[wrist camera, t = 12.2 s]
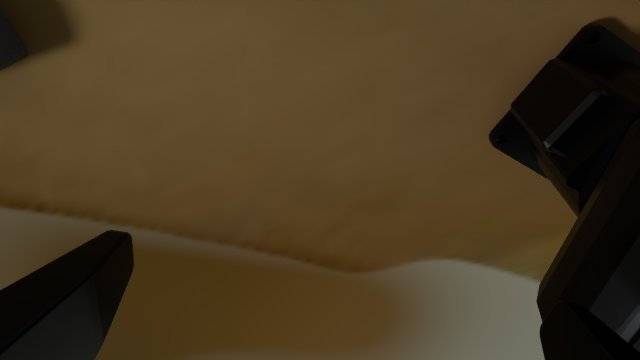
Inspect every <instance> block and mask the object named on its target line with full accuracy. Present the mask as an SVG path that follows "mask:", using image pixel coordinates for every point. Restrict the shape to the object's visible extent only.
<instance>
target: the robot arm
mask: <svg viewBox="0 0 640 360" xmlns="http://www.w3.org/2000/svg"><path fill="white" fill-rule="evenodd" d="M592 32H596V36H595V38H594V39H593V40H592V41H589V42H588V36H589V35H590V34H591V33H592ZM500 135H505V137H504V138H503V139H502V140H499V141H498V140H496V139H497V137H498V136H500ZM489 140H490V142H491V144H492V145H493V146H494V147H495V148H496V149H498V150H500V151H501V152H503V153H505V154H506V155H508V156H510V157H512V158H513V159H515V160H517V161H518V162H520V163H522V164H523V165H525V166H527V167H528V168H530V169H532V170H533V171H535V172H537V173H538V174H540V175H542V176H543V177H545V178H547V179H548V180H550V181H551V182H552V184H553V185H554V186H555V188H556V189H557V190H558V192H559V193H560V194H561V196H562V197H563V198H564V200H565V201H566V202H567V204H568V205H569V206H570V208H571V209H572V210H573V212H574V213H575V214H576V216H577V217H578V218H577V220H576V222H575V224H574V225H573V227H572V229H571V231H570V232H569V234H568V236H567V238H566V239H565V241H564V243H563V245H562V246H561V248H560V250H559V252H558V253H557V255H556V257H555V259H554V260H553V262H552V264H551V266H550V267H549V269H548V271H547V273H546V274H545V276H544V278H543V280H542V281H541V283H540V285H539V291H538V296H537V305H538V308H539V312H540V315H541V319H542V322H543V323H542V324H541V327H540V339H541V343H542V348H543V353H544V357H545V360H640V53H639V52H638V51H636V50H635V49H634V48H632V47H631V46H629V45H628V44H627V43H625V42H624V41H622V40H621V39H620V38H618V37H617V36H616V35H614V34H613V33H611V32H610V31H609V30H607V29H606V28H605V27H603V26H600V25H598V24H595V23H592V24H588V25H586V26H584V27H583V28H582V29H581V30H580V31H579V32H578V33H577V34H576V35H575V37H574V38H573V39H572V40H571V41H570V42H569V43H568V44H567V46H566V47H565V48H564V49H563V50H562V51H561V52H560V54H559V55H558V56H557V57H556V58H555V59H552V60H549V61H548V63H547V64H546V65H545V66H544V67H543V68H542V69H541V71H540V72H539V73H538V74H537V75H536V76H535V77H534V79H533V80H532V81H531V82H530V83H529V84H528V85H527V87H526V88H525V89H524V90H523V91H522V92H521V93H520V95H519V96H518V97H517V98H516V99H515V100H514V101H513V103H512V104H511V109H510V110H509V111H508V113H507V114H506V115H505V116H504V117H503V118H502V119H501V121H500V122H499V123H498V124H497V125H496V126H495V127H494V129H493V130H492V131H491V132H490V134H489ZM133 268H134V257H133V245H132V237H131V235H130V234H129V233H127V232H122V231H115V230H109V231H106V232H104V233H102V234H100V235H99V236H97V237H95V238H94V239H91V240H90V241H88V242H86V243H84V244H83V245H81V246H79V247H77V248H75V249H74V250H72V251H70V252H68V253H67V254H65V255H63V256H61V257H59V258H57V259H56V260H54V261H52V262H50V263H48V264H47V265H45V266H43V267H41V268H40V269H38V270H36V271H34V272H33V273H31V274H29V275H27V276H25V277H24V278H22V279H20V280H18V281H16V282H14V283H13V284H11V285H9V286H7V287H5V288H4V289H2V290H0V360H95V358H96V356H97V355H98V353H99V351H100V349H101V347H102V345H103V343H104V341H105V338H106V336H107V334H108V331H109V329H110V327H111V324H112V321H113V319H114V317H115V314H116V312H117V309H118V307H119V304H120V302H121V300H122V297H123V295H124V292H125V290H126V287H127V285H128V282H129V280H130V277H131V275H132V272H133Z"/></svg>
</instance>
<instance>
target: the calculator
mask: <svg viewBox="0 0 640 360" xmlns="http://www.w3.org/2000/svg"><path fill="white" fill-rule="evenodd" d="M26 54H27V50H26V48H25V46H24V44H23V42H22V41H21V39H20V38H19V36H18V35H17V33H16V32H15V30H14V29H13V27H12V26H11V24H10V23H9V21H8V20H7V18H6V16H5V15H4V13H3V12H2V10H1V9H0V70H2V69H4V68H6V67H8V66H10V65H12V64H13V63H15V62H17V61H19V60H21V59H23V58H24V57H25V56H26Z"/></svg>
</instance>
